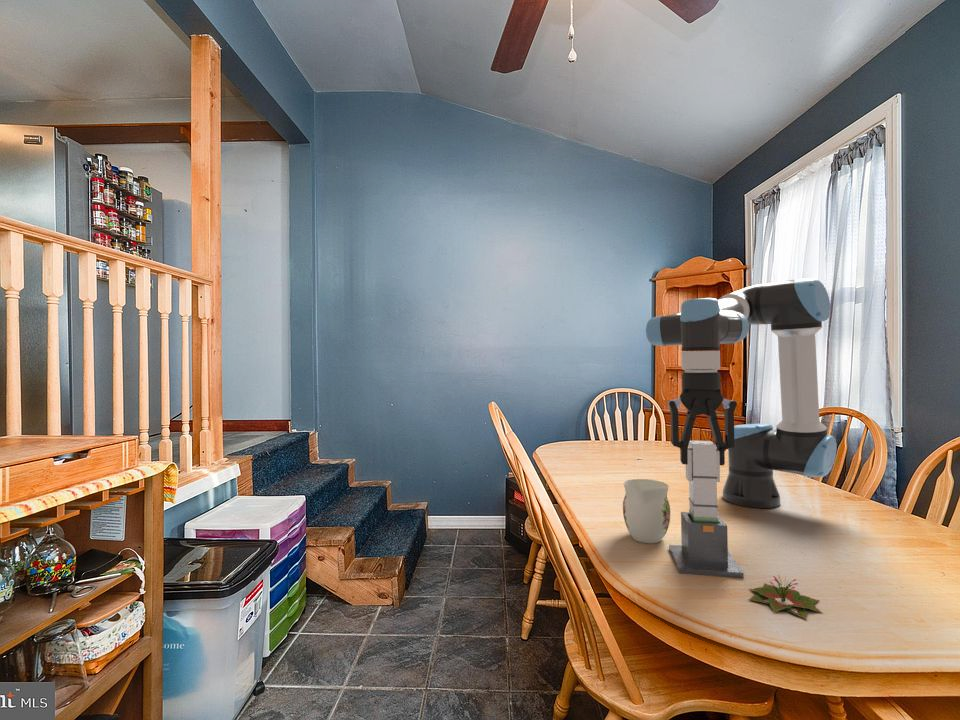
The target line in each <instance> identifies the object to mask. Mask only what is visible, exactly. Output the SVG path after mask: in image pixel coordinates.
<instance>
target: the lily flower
mask: <svg viewBox="0 0 960 720" xmlns="http://www.w3.org/2000/svg"><path fill="white" fill-rule="evenodd" d="M773 578H774V579H773V580H774V582H776V583H777V585H778V587H777V586H775V585H774V583H773V582H772V581H771V580H770V581H769V583H770V584H768V583H765V582H764V584H763V585H762V586H759V587H754V588H749V590H750V591H754V592H756V593H757V594H754V595H753V596H751V598H748V599H747V600H748V601H752V602H753V601H754V602H759V603H763V604H766V605H770V607H771V609H772V611H773V614H776V613H777V612H780V611H782V610H785V611H787V612H789V613H792V614H794V615H795V616H798V617H800V618H802V619H804V620H805V621H807V615H808V612H807V610H806V609H809V610H811V611H813V612H814V611H815V612H818V613H821V614H823V612H822V611H821V610H820V609H819V608H817V607H816V605H815V604H816V603H817V602H820V601H821V600H819V599H816V598H812V597H809V596H807V595H801V594H800V592H799V591H798V590H795V587H796V586H794V585H799V583H796V582H795V581H797V579H796V578H795V579H793V580H792V581H791V582H789V583H785V585H784V586H783V584H782V580H781V577H780V575H779V574H778V578H777V577H776V576H774V575H773ZM786 579H787V577H785V579H784V581H786ZM793 582H794V583H793ZM792 583H793V584H792ZM790 587H791V588H790ZM777 599H781V602H786V599H787V601H789V602H791V604H789V603H788V604H784V603H781V602H779V601H778V600H777ZM792 607H796V610H797V611H794V610H792V609H790V608H792Z"/></svg>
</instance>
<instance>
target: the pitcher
mask: <svg viewBox="0 0 960 720" xmlns="http://www.w3.org/2000/svg"><path fill="white" fill-rule="evenodd" d="M623 486H624V491H625V495H624V498H623V501H622V515H623V519H624V520H623V521H624V524H625V526H626V529H627V531H628V533H629V534H630V535H631V537H632V539H633V540H634V541H637V542H640V543H645V544H657V543H660V542H661V541H662V539H663V538H664V537H665V535H666V534H667V532H668V529H669V527H670V523H671V505H670V501H669V498H668V492H669V487H670V486H669V484H668V483H665V482H663V481H659V480H655V479H648V478H634V479H628V480H625V481H624V482H623Z"/></svg>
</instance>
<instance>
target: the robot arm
mask: <svg viewBox="0 0 960 720" xmlns="http://www.w3.org/2000/svg"><path fill="white" fill-rule="evenodd" d="M830 316H831V301H830V297H829V294H828V291H827V288H826V287H825V285H824V283H822V281H820V280H819V279H817V278H815V277H814V278H813V277H812V278H809V277H808V278H797V279H789V280H783V281H777V282H768V283H759V284H755V285H750V286H747V287H744V288H741V289H739V290H736V291H733V292H730V293H726V294H724V295H722V296H721V297H720V298H719V299H717V298H714V297H713V298H712V297H705V298H703V297H700V298H692V299H686V300H684V301H683V302H682V303H681V306H680V312H676V313H673V314H666V315H658V316H654V317H651V318H649V320H648V321H647V322H646V325H645V334H646V339H647V341H648V342H649V343H650V345H653V346H655V347H656V346H663V347H666V346H681V369H682V370H683V371H684V372H682V373H681V393H680V395H679V397H677V398H675V399H669V400H667V406H668V408H669V410H670V412H669V413H670V443H671V445H672V446H673V447H675V448H679V450H680V451H679V452H680V454H679V455H680V456H679V457H680V462H681V464H682V465H685V478H686V480H687V481H688V482H689V481H692V450H691V449H689V441H690V440H691V437H692V432H693V428H694V424H695V421H696V419H697V416H700V415H705V416H706V417H707V419H708V424H709V427H710V430H711V433H712V436H713V441H714V444H716V465H717V483H721V469H720V468H721V467H720V466H725V462H726V461H725V460H726V458H725V453H726V450H728V453H727V454H728V458H727V459H728V474H727V477H726V479H725V482H724V486H723V488H722V499H723V500H725V501H726V502H728V503H731V504H735V505H738V506H740V507H741V506H742V507H749V508H757V509H770V508H771V509H773V508H776V507H779V506H781V495H780V492H779V489H778V487H777V484H776V482H775V480H774V471H776V472H783V473H787V474H789V473H790V474H795V475H800V476H804V477H812V478H813V477H815V478H824V477H825V476H827V475H828V474H829V473H830V472H831V471H832V469H833V466H834V463H835V461H836V460H835V459H836V457H837V447H838V446H837V445H838V443H837V441H836V440H837V439H836V438H835V437H834V436H833V435H831V434H828V432H827V431H828V430H827V429H828V428H827V426H826V425H825V424H823V423H822V422H821V421H820V408H819V407H820V405H819V385H818V383H819V382H818V365H817V344H816V343H817V342H816V335H817V333H818V332H819V331H820V330H821V329H822V327H823V322H825V321H827V320H829V318H830ZM750 325H770V330H771V332H772V333H773V334H775V335H776V336H777V348H778V349H777V350H778V363H779V367H778V368H779V383H780V400H781V402H780V404H781V421H780V422H779V423H777V424H776V426H775V427H776V429H774V426H773V425H772V424H771V423H745V424H737V425H735V411H736V408H737V405H738V403H737V402H736V401H735V400H732V399H727V398H725V397H724V396H723V393H722V388H721V387H722V386H721V385H722V384H721V381H722V380H721V378H722V377H721V373H720V372H718V370H720V369H721V345H723V344H724V345H733V344H737V343H739V342H741V341H743V340H744V339H745V338H746V337H747V336H748V333H749V330H750ZM681 404H682V405H683V407H685V409H686V411H687V412H686V418H685V421H684V422H685V423H684V426H683V431H682V433H681V438H680V433H679V431H680V429H679V422H680V421H679V409H680V407H681ZM721 404H722V408H723V409H724V416H723V417H724V437H723V436H722V431H721V428H720V425H719V421H718V415H717V412H716V411H717V410H718V408H719V407H720V406H721ZM723 438H724V439H723ZM679 439H680V440H679Z"/></svg>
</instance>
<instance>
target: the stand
mask: <svg viewBox="0 0 960 720" xmlns="http://www.w3.org/2000/svg"><path fill="white" fill-rule="evenodd" d="M717 518H718V524H716V523H698V522H692V521H691V520H690V516H689V511H680V522H681V523H680V528H681V529H680V531H681V536H680V537H681V539H680V540H681V545H677V544H676V545H675V544H669V545H668V547H669V552H670V555H671V556H672V559H673V562H674V563H675V567H676V569H677V571H678V573H679V574H688V575H689V574H690V575H699V576H700V575H701V576H702V575H703V576H711V577H715V576H716V577H727V578H740V579H744V578H745V577H744V575H745V574H744V572H743V570H742V568H741V567H740V566H739V565H738V563H737V562H736V560H735V559H734V557H733V556H732V555H731V553H730V552H729V550H728V549H729V548H728V547H729V546H728V524H727V523H726V522H725V521H724V520H723V519H722V517H721V516H720V515H719V514H718V513H717Z"/></svg>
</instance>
